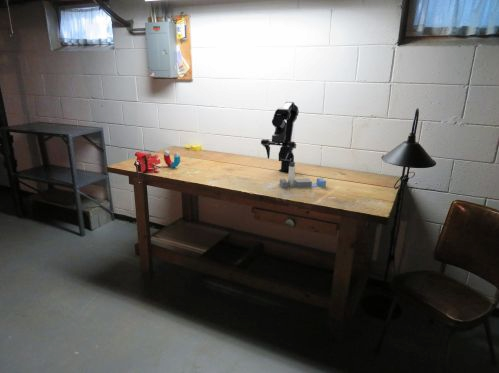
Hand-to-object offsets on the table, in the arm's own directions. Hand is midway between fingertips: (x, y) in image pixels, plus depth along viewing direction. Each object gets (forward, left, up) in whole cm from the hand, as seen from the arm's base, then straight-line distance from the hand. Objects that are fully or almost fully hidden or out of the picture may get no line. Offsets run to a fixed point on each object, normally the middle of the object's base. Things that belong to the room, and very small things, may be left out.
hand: (276, 159), depth 194 cm
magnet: (+12, -67, -14) cm, 70 cm away
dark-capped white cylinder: (+2, +11, -12) cm, 17 cm away
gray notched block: (-2, +15, -13) cm, 21 cm away
